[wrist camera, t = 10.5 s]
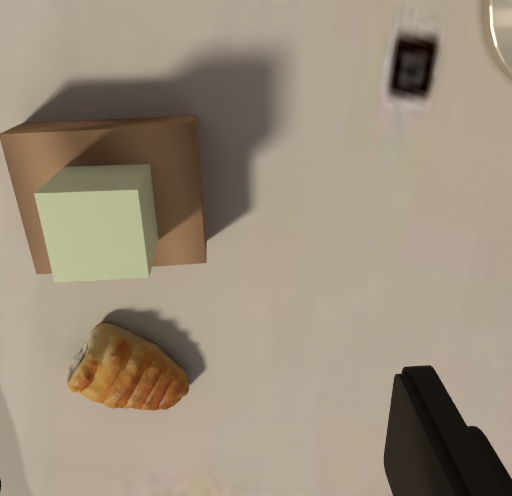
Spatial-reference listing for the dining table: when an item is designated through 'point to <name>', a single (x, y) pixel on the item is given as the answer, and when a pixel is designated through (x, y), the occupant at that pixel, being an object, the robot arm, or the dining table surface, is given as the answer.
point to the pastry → (126, 371)
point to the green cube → (99, 222)
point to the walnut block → (116, 153)
